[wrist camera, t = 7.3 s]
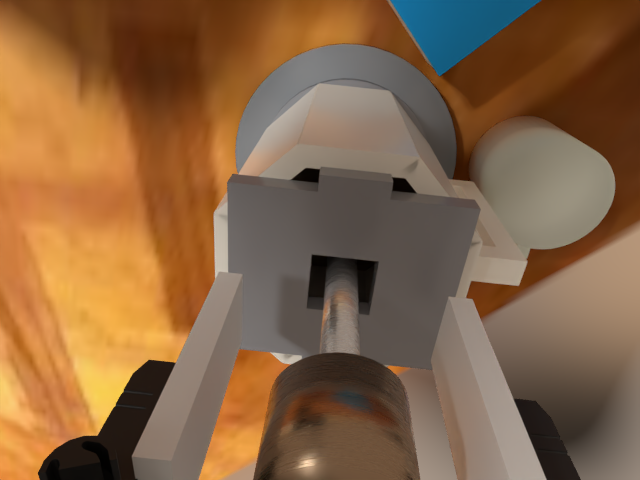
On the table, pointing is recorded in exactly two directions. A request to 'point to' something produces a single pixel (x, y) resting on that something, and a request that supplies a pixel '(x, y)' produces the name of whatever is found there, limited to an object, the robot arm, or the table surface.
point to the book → (455, 25)
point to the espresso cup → (541, 182)
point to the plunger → (338, 404)
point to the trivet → (354, 65)
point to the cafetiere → (354, 227)
